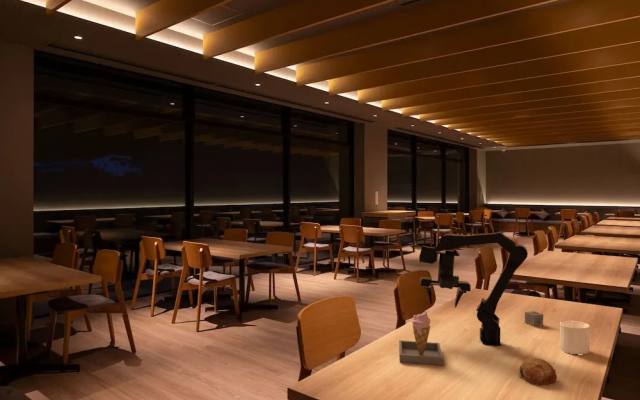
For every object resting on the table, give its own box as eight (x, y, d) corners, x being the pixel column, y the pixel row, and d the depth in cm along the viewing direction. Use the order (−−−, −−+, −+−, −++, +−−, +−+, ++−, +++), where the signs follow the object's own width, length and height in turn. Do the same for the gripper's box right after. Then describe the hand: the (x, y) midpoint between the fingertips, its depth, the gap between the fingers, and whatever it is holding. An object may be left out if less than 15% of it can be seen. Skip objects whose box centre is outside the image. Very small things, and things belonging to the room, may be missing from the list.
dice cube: (543, 326, 184) (543, 314, 183) (533, 327, 182) (533, 315, 182) (533, 322, 188) (534, 311, 188) (524, 323, 187) (524, 312, 187)
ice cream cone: (430, 359, 144) (430, 314, 144) (411, 357, 146) (411, 313, 145) (429, 352, 151) (430, 309, 151) (411, 350, 152) (411, 308, 152)
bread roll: (518, 383, 136) (508, 361, 135) (546, 369, 137) (536, 346, 136) (537, 398, 126) (526, 374, 126) (567, 382, 127) (556, 358, 126)
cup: (586, 347, 158) (586, 321, 158) (593, 357, 148) (594, 329, 148) (556, 344, 161) (557, 318, 161) (562, 354, 151) (562, 326, 151)
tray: (438, 350, 154) (439, 343, 154) (443, 365, 140) (443, 358, 140) (399, 347, 156) (399, 340, 156) (399, 362, 142) (399, 354, 142)
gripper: (422, 266, 162) (419, 307, 163) (474, 272, 159) (470, 314, 159) (421, 262, 173) (418, 301, 174) (470, 267, 170) (467, 306, 170)
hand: (443, 305), depth 169 cm, fingers open, 9 cm apart
